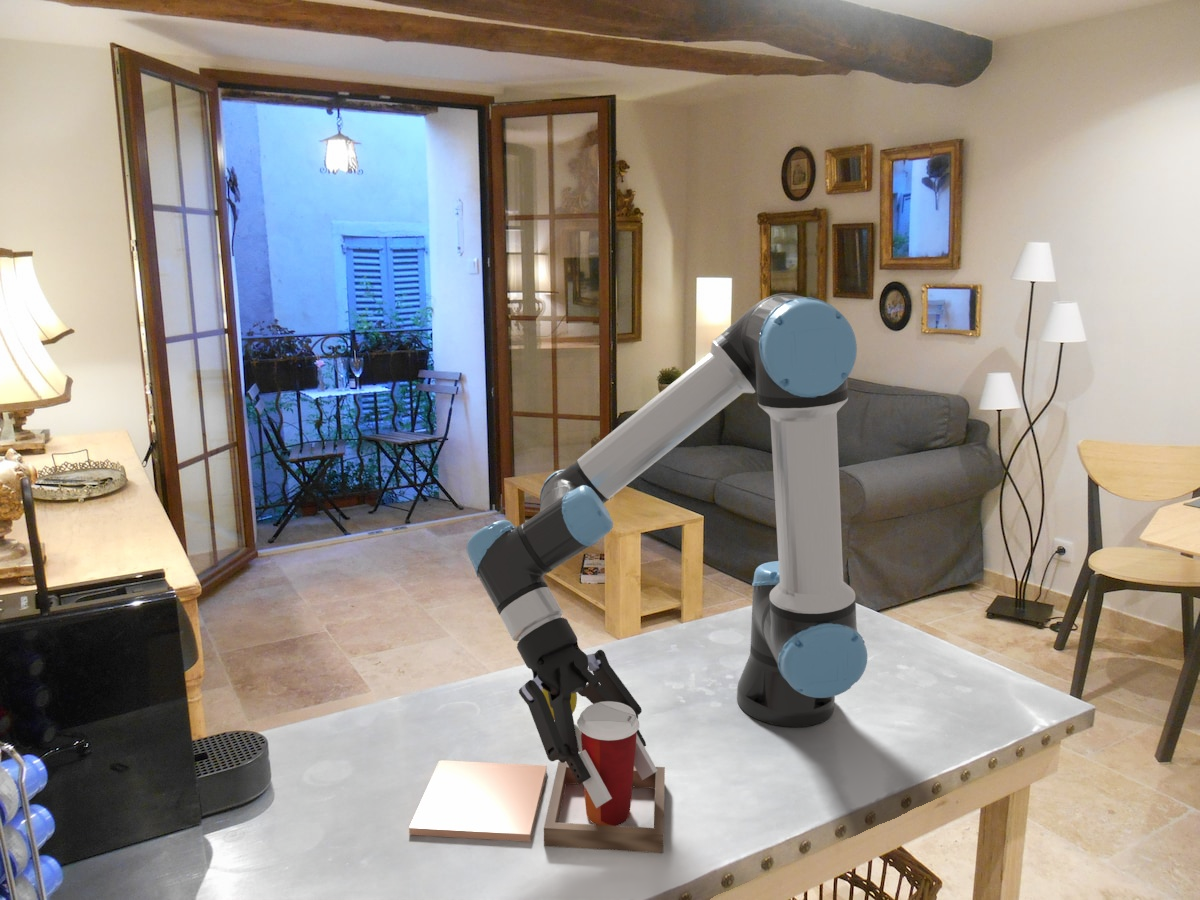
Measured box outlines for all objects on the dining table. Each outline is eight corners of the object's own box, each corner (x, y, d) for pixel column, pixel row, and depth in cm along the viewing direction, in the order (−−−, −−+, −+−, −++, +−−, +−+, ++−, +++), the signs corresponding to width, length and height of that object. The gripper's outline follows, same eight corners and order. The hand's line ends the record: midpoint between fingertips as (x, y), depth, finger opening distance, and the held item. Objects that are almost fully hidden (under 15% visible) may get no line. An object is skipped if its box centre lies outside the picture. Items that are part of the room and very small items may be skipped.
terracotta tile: (546, 772, 127) (546, 765, 127) (530, 841, 113) (529, 834, 112) (439, 766, 128) (439, 760, 128) (409, 834, 114) (409, 827, 114)
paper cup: (645, 802, 121) (647, 704, 117) (627, 837, 114) (628, 735, 110) (588, 790, 123) (589, 694, 120) (568, 824, 116) (567, 723, 113)
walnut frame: (664, 783, 125) (664, 767, 124) (663, 853, 111) (663, 834, 110) (558, 778, 126) (558, 761, 125) (543, 846, 112) (543, 828, 111)
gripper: (581, 620, 132) (664, 767, 124) (465, 666, 117) (552, 835, 110) (608, 595, 127) (696, 746, 120) (491, 640, 113) (583, 815, 105)
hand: (627, 788), depth 115 cm, fingers closed on paper cup, 8 cm apart
